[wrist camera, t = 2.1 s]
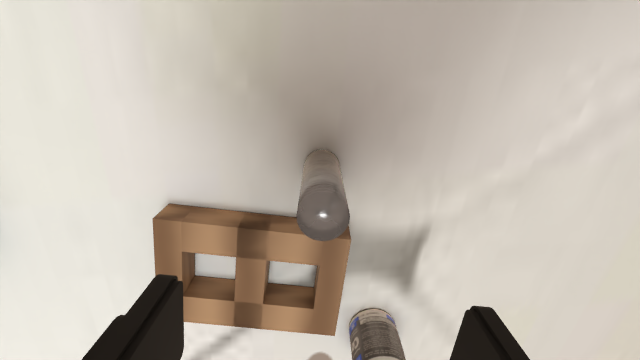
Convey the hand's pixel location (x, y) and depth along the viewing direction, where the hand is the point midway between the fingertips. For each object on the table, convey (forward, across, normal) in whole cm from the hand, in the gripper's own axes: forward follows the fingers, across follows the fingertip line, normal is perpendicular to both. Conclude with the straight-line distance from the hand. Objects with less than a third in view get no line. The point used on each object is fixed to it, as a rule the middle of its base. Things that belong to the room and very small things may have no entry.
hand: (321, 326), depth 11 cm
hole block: (+18, +5, +10) cm, 21 cm away
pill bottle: (+18, -7, +16) cm, 26 cm away
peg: (+18, 0, 0) cm, 18 cm away
